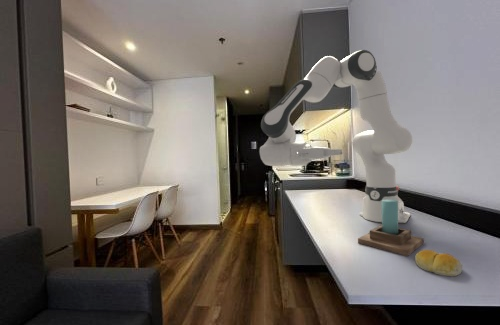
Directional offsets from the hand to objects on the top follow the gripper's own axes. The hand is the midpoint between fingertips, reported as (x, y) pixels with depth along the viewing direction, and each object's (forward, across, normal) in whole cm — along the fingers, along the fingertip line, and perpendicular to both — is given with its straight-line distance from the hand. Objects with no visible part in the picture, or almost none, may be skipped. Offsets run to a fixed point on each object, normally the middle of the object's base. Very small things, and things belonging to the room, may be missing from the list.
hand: (341, 152), depth 81 cm
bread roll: (+23, -15, +30) cm, 41 cm away
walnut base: (+14, 0, +30) cm, 33 cm away
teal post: (+14, 0, +28) cm, 31 cm away
